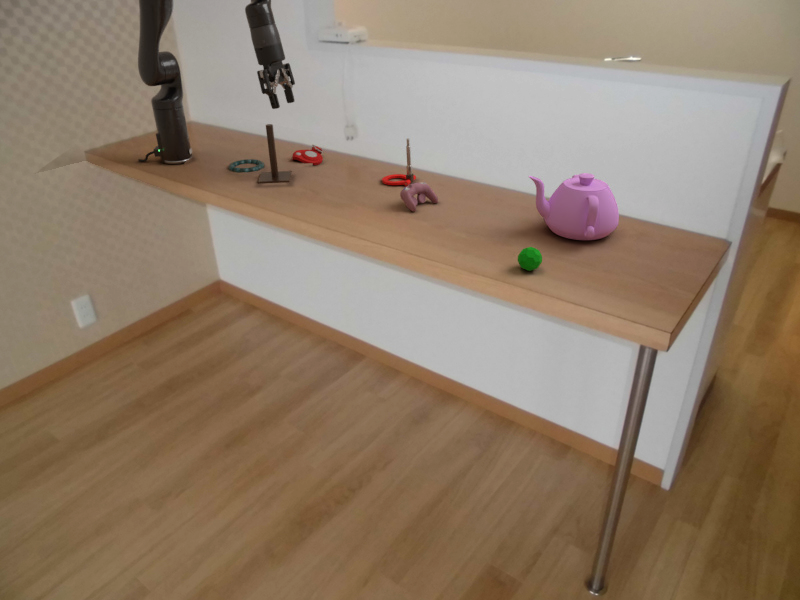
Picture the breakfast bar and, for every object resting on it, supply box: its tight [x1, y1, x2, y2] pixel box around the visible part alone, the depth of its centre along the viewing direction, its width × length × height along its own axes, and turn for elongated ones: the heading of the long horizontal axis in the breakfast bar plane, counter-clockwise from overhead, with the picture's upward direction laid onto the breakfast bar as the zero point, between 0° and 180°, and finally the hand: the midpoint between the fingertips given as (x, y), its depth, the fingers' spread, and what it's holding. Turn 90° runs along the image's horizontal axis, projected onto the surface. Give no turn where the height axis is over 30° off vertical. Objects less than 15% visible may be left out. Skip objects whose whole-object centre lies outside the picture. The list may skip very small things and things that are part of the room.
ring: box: [227, 158, 266, 174], centre depth 192 cm, size 11×11×2 cm
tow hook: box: [381, 138, 417, 187], centre depth 177 cm, size 8×13×9 cm
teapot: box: [528, 172, 620, 241], centre depth 144 cm, size 22×22×14 cm
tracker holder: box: [291, 144, 324, 166], centre depth 199 cm, size 12×4×10 cm
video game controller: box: [399, 181, 439, 213], centre depth 162 cm, size 10×5×7 cm, turn 135°
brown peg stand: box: [257, 123, 293, 185], centre depth 178 cm, size 9×9×16 cm
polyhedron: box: [517, 246, 543, 272], centre depth 129 cm, size 5×5×5 cm
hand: (283, 105), depth 173 cm, fingers open, 8 cm apart
